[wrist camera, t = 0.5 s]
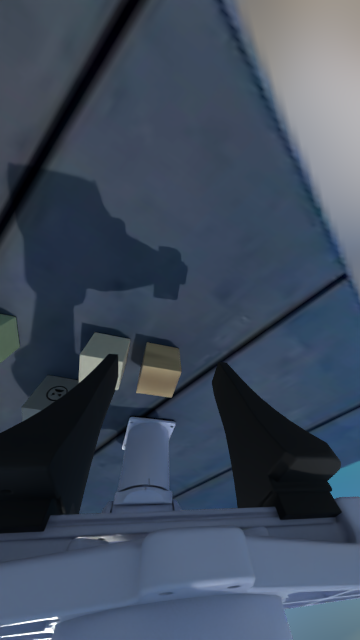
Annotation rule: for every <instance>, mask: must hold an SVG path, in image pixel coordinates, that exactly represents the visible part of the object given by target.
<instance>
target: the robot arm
mask: <svg viewBox="0 0 360 640" xmlns="http://www.w3.org/2000/svg"><path fill="white" fill-rule="evenodd" d="M117 380H118V354H108V355H107V356H106V357H105V358H104V359H103V360H102V361H101V363H100V364H99V365H98V366H97V367H96V368H95V369H94V370H93V371H92V372H91V373H89V374H88V375H87V376H86V377H85V378H84V379H83V380H82V381H81V382H79V383H78V384H77V385H76V386H75V387H74V388H72V389H71V390H70V391H69V392H67V393H66V394H65V395H63V396H62V397H61V398H59V399H58V400H56V401H55V402H53V403H52V404H50V405H49V406H47V407H46V408H44V409H43V410H41V411H40V412H38V413H36V414H35V415H33V416H31V417H30V418H28V419H26V420H24V421H23V422H21V423H19V424H17V425H15V426H13V427H12V428H10V429H8V430H6V431H4V432H2V433H0V640H42V639H51V640H293V637H292V634H291V631H290V627H289V624H288V621H287V618H286V614H285V611H284V609H290V608H296V607H302V606H309V605H316V604H322V603H329V602H336V601H342V600H349V599H356V598H360V497H340V498H336V499H334V498H333V497H332V495H331V493H330V491H332V488H331V486H330V485H329V483H328V482H327V481H328V480H329V479H330V478H331V477H332V476H333V475H334V474H335V473H337V471H338V470H339V469H340V467H341V462H340V460H339V459H338V457H337V456H336V455H335V453H334V452H333V451H332V449H331V448H330V447H329V445H328V444H327V443H326V442H324V441H322V440H321V439H319V438H317V437H315V436H314V435H312V434H310V433H309V432H307V431H305V430H304V429H302V428H301V427H299V426H297V425H296V424H294V423H293V422H291V421H290V420H288V419H287V418H286V417H284V416H283V415H281V414H280V413H279V412H277V411H276V410H275V409H274V408H272V407H271V406H270V405H269V404H267V403H266V402H265V401H264V400H263V399H261V398H260V397H259V396H258V395H257V394H256V393H255V392H254V391H253V390H252V389H251V388H250V387H249V386H248V385H247V384H246V383H245V382H244V381H243V380H242V379H241V378H240V377H239V376H238V375H237V374H236V373H235V371H234V370H233V369H232V368H231V367H230V366H229V365H228V364H227V363H225V362H218V365H217V368H216V371H215V374H214V377H213V380H212V386H213V392H214V396H215V400H216V403H217V406H218V410H219V413H220V416H221V419H222V423H223V426H224V430H225V434H226V439H227V443H228V448H229V454H230V459H231V465H232V471H233V477H234V483H235V491H236V498H237V505H238V508H230V509H203V510H181V508H180V506H179V504H178V502H177V501H176V500H172V491H169V438H170V436H171V434H172V431H173V429H174V427H175V422H174V421H166V420H157V419H149V418H140V417H130V418H129V422H128V426H127V430H126V434H125V438H124V442H123V446H122V449H123V450H125V453H124V459H123V464H122V469H121V475H120V480H119V486H118V491H117V492H116V493H115V498H114V503H113V501H109V502H108V504H107V505H106V506H105V507H104V508H103V510H102V513H98V514H79V511H80V507H81V502H82V498H83V494H84V490H85V486H86V482H87V478H88V474H89V470H90V466H91V462H92V459H93V455H94V451H95V447H96V444H97V440H98V436H99V433H100V429H101V426H102V423H103V421H104V418H105V415H106V413H107V410H108V408H109V405H110V402H111V400H112V397H113V394H114V392H115V388H116V384H117Z"/></svg>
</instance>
